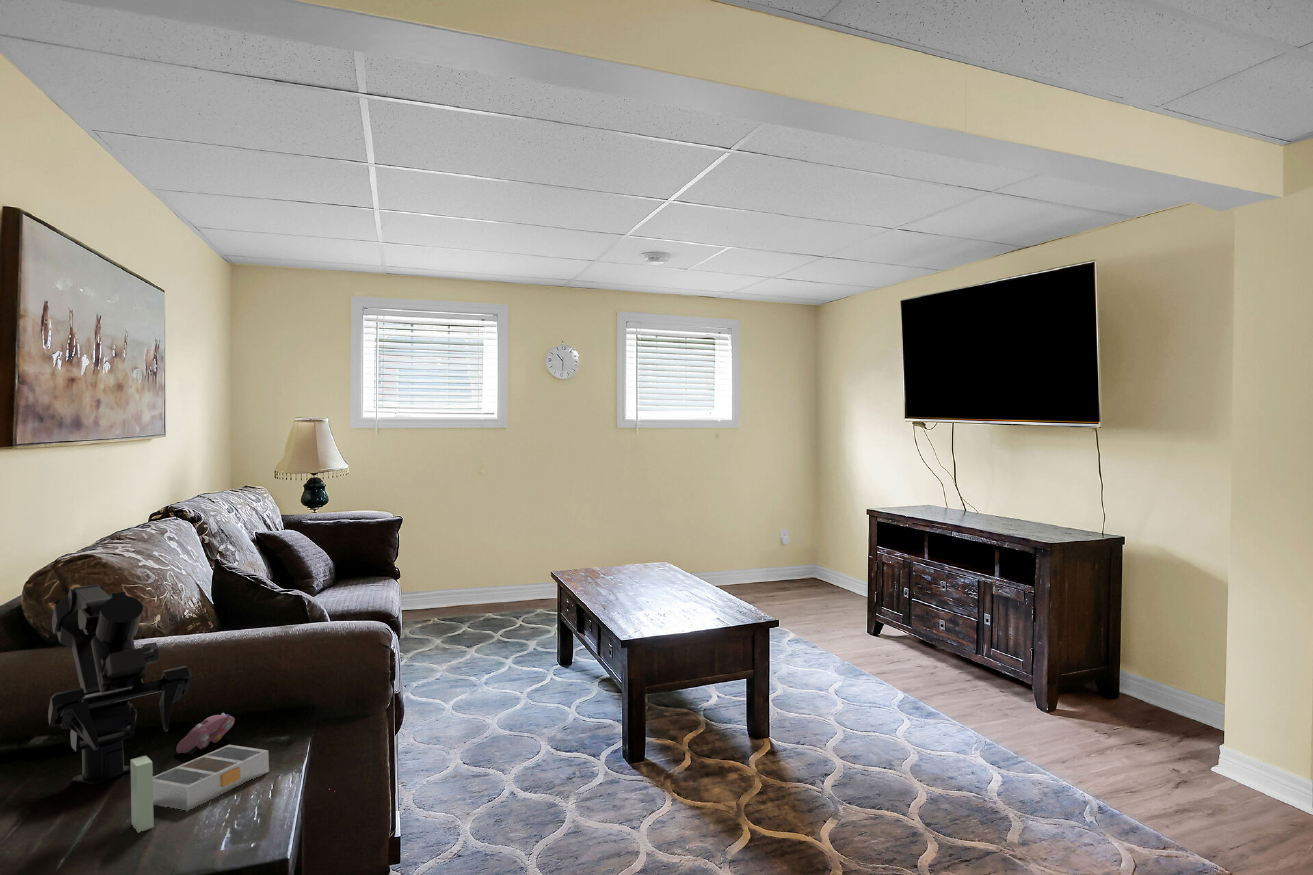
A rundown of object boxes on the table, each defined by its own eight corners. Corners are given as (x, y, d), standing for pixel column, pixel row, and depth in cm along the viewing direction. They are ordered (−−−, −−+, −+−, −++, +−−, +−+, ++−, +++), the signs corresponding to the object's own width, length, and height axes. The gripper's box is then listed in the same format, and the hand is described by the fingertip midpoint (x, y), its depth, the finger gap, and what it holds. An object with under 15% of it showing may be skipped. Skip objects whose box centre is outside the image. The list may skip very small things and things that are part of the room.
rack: (145, 802, 117) (145, 779, 117) (229, 765, 131) (229, 744, 131) (188, 811, 113) (188, 787, 113) (270, 771, 127) (269, 750, 127)
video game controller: (189, 763, 136) (202, 731, 136) (171, 752, 137) (184, 720, 137) (230, 743, 146) (242, 713, 145) (213, 732, 147) (225, 702, 146)
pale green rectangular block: (131, 824, 110) (130, 759, 110) (147, 819, 111) (145, 755, 112) (137, 832, 107) (136, 766, 107) (153, 827, 108) (152, 761, 109)
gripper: (49, 642, 110) (63, 729, 103) (188, 619, 124) (209, 693, 116) (42, 684, 115) (55, 769, 108) (176, 657, 129) (196, 731, 121)
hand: (132, 738), depth 113 cm, fingers open, 9 cm apart
